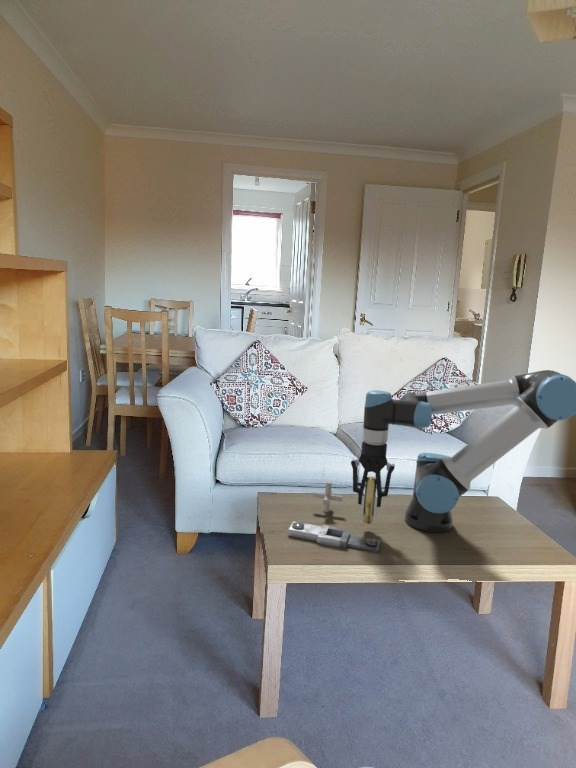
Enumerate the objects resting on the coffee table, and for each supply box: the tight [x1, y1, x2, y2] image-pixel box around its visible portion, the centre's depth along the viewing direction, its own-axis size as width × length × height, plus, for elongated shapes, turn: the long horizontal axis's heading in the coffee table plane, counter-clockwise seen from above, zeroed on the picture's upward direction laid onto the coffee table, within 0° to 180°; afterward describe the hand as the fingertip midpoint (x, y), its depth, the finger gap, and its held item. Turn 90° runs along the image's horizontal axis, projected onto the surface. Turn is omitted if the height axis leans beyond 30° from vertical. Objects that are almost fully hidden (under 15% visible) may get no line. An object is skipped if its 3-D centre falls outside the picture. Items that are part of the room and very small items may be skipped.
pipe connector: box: [311, 481, 344, 513], centre depth 175 cm, size 10×10×10 cm
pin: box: [362, 476, 377, 525], centre depth 163 cm, size 3×3×14 cm
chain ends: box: [287, 521, 381, 553], centre depth 155 cm, size 26×8×3 cm, turn 75°
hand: (368, 515), depth 163 cm, fingers closed on pin, 3 cm apart
